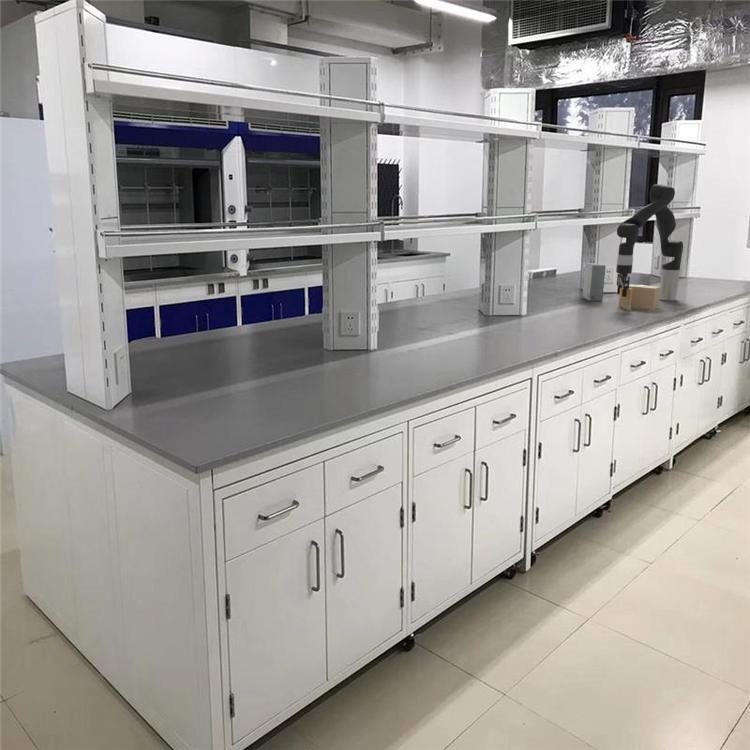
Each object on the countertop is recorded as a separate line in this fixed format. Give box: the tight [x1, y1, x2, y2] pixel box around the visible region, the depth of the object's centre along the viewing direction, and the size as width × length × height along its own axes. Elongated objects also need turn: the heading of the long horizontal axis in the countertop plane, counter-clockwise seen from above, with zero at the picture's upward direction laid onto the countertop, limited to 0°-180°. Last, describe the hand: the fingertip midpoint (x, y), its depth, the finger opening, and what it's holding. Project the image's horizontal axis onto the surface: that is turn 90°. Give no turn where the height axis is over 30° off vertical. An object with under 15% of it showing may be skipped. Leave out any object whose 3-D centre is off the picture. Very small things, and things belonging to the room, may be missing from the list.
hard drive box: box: [582, 262, 607, 302], centre depth 405 cm, size 16×8×20 cm, turn 179°
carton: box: [629, 283, 661, 311], centre depth 380 cm, size 9×18×11 cm, turn 52°
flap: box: [618, 288, 633, 312], centre depth 373 cm, size 5×16×11 cm, turn 179°
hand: (621, 295), depth 368 cm, fingers open, 8 cm apart
